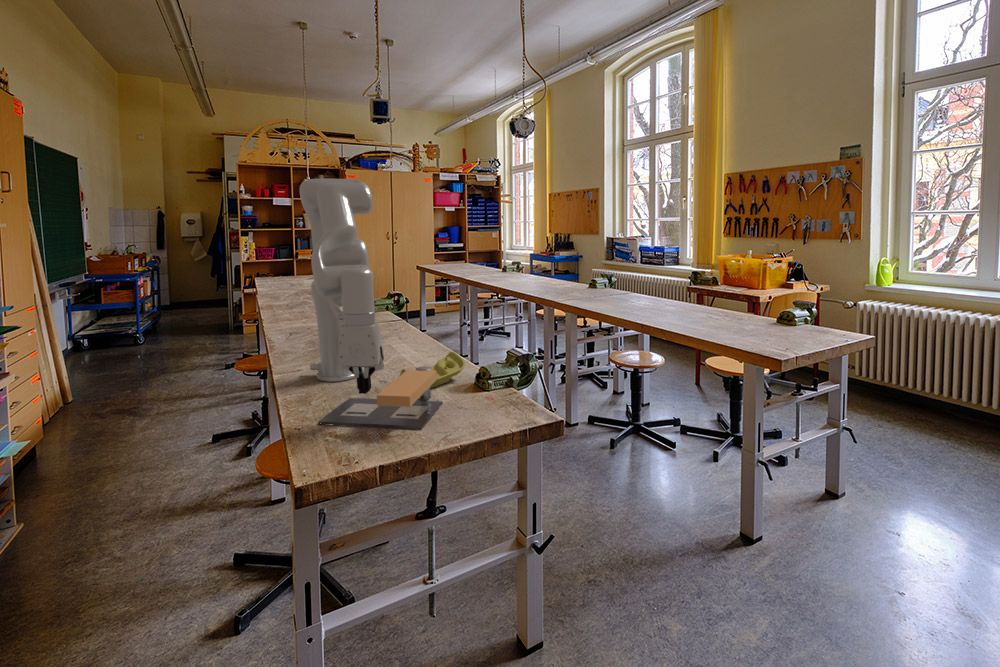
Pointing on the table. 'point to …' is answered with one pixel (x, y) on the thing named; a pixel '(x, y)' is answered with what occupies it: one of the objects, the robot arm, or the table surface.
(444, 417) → the table surface
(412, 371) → the orange rectangular block
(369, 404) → the label plate
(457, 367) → the plastic component
